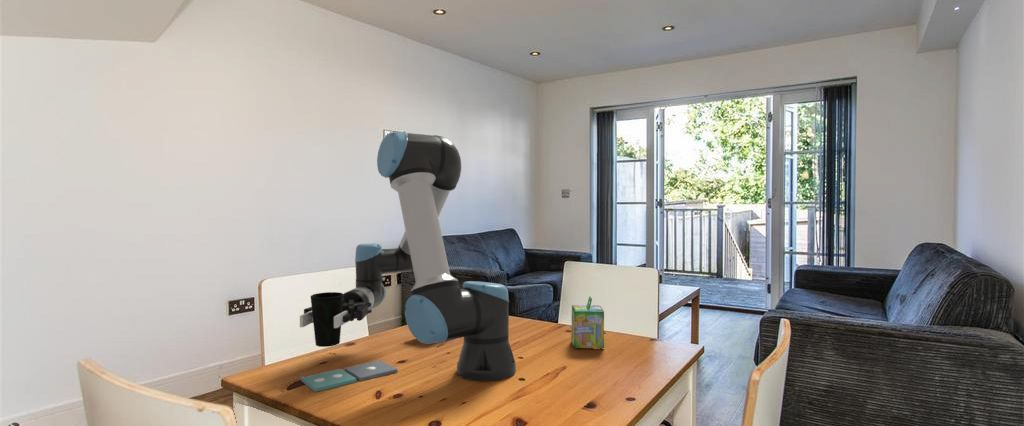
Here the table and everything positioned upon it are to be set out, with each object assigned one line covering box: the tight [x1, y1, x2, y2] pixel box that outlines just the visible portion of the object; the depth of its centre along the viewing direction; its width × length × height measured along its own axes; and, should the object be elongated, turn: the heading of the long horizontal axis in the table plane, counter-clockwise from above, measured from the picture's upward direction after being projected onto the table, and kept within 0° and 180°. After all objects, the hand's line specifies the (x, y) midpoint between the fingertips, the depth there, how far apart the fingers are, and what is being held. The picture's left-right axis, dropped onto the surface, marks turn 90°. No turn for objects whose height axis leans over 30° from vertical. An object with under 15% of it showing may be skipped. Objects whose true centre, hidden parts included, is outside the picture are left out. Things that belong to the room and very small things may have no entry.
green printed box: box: [570, 296, 605, 349], centre depth 154 cm, size 9×9×15 cm
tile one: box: [344, 359, 399, 382], centre depth 131 cm, size 10×10×1 cm
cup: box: [310, 291, 344, 348], centre depth 124 cm, size 8×8×12 cm
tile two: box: [300, 368, 358, 393], centre depth 124 cm, size 10×10×1 cm
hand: (318, 321), depth 119 cm, fingers closed on cup, 8 cm apart
